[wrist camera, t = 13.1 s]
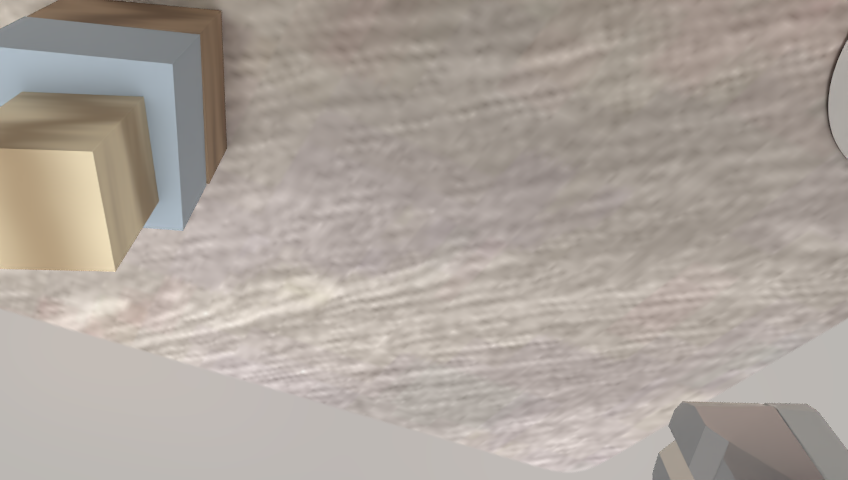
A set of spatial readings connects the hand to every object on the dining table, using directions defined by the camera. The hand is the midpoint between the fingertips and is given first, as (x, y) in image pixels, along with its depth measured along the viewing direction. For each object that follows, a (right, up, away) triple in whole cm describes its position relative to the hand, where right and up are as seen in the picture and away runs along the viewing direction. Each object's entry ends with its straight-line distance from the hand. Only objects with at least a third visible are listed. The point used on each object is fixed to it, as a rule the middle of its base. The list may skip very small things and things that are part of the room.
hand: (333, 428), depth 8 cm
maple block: (-14, +6, +23) cm, 27 cm away
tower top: (-14, +9, +27) cm, 32 cm away
